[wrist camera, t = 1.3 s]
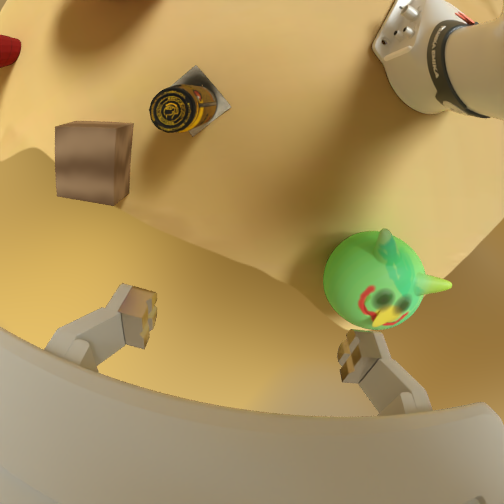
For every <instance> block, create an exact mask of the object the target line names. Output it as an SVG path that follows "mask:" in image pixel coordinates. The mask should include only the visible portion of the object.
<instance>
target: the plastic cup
mask: <svg viewBox="0 0 504 504" xmlns="http://www.w3.org/2000/svg"><path fill="white" fill-rule="evenodd" d="M20 50H21V42H20V40H18V39H16V38H11V37H8V36H4V35H0V68H2V67H4V66H8V65H10V64H12V63H14V62H15V61H16V59H17V58H18V56H19V53H20Z"/></svg>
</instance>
